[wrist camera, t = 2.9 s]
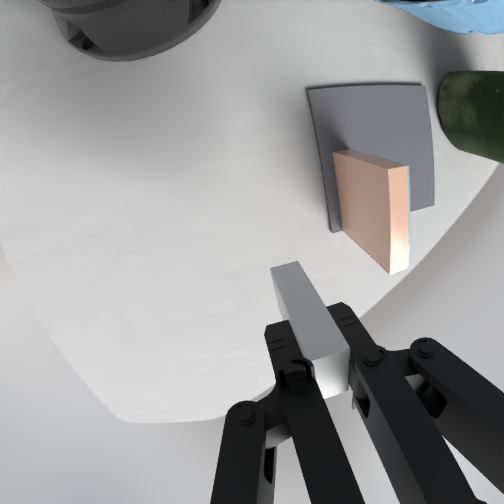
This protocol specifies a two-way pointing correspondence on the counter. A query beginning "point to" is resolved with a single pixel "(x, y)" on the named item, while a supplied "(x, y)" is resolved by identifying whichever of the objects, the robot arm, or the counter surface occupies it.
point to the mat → (375, 135)
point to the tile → (375, 206)
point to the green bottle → (474, 112)
